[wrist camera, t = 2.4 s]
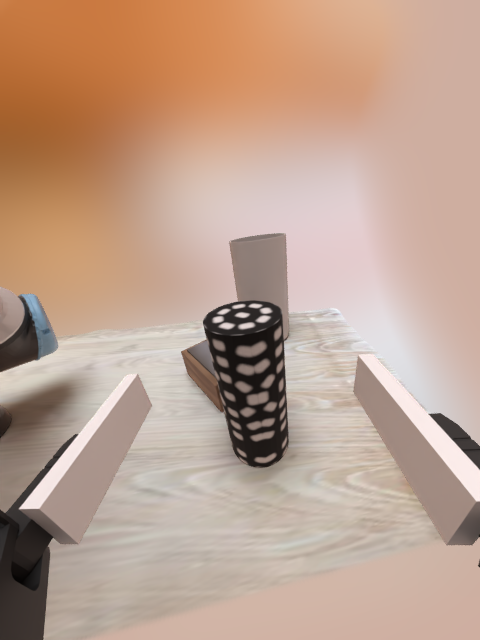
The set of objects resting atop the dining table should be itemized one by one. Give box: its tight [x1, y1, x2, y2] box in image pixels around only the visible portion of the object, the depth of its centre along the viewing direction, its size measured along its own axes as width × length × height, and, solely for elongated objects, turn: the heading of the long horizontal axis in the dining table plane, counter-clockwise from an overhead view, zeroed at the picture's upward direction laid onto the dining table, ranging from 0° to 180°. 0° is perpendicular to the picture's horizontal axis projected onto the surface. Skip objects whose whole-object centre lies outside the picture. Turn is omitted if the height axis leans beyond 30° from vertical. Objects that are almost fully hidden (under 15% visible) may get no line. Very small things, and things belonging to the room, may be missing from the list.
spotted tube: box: [203, 300, 288, 468], centre depth 26 cm, size 8×8×20 cm
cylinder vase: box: [229, 233, 289, 339], centre depth 51 cm, size 12×12×25 cm
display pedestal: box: [181, 340, 224, 412], centre depth 42 cm, size 14×14×6 cm
